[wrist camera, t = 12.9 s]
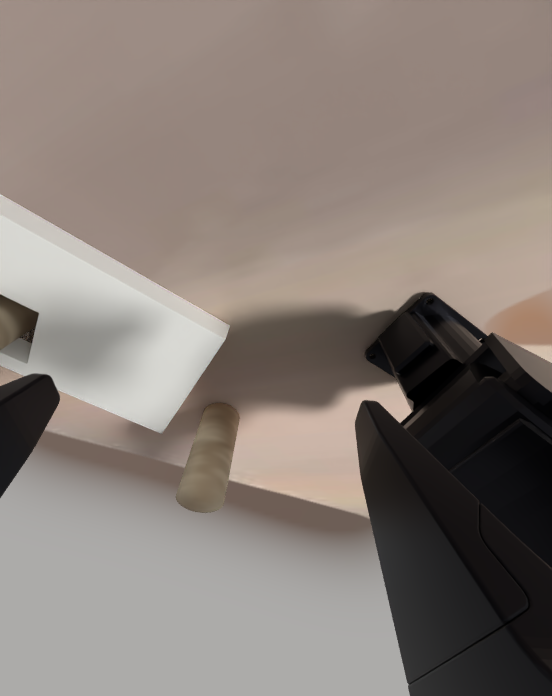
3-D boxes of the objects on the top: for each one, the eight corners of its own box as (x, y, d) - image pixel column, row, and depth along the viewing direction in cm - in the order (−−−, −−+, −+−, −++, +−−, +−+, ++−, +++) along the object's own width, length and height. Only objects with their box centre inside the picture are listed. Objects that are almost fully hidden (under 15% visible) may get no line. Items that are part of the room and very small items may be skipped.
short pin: (246, 413, 27) (232, 497, 20) (228, 433, 29) (210, 517, 22) (213, 397, 26) (187, 480, 19) (197, 419, 28) (168, 502, 21)
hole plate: (230, 325, 22) (225, 339, 20) (169, 417, 28) (161, 433, 26) (-41, 170, 17) (-76, 172, 15) (-48, 321, 23) (-75, 334, 21)
